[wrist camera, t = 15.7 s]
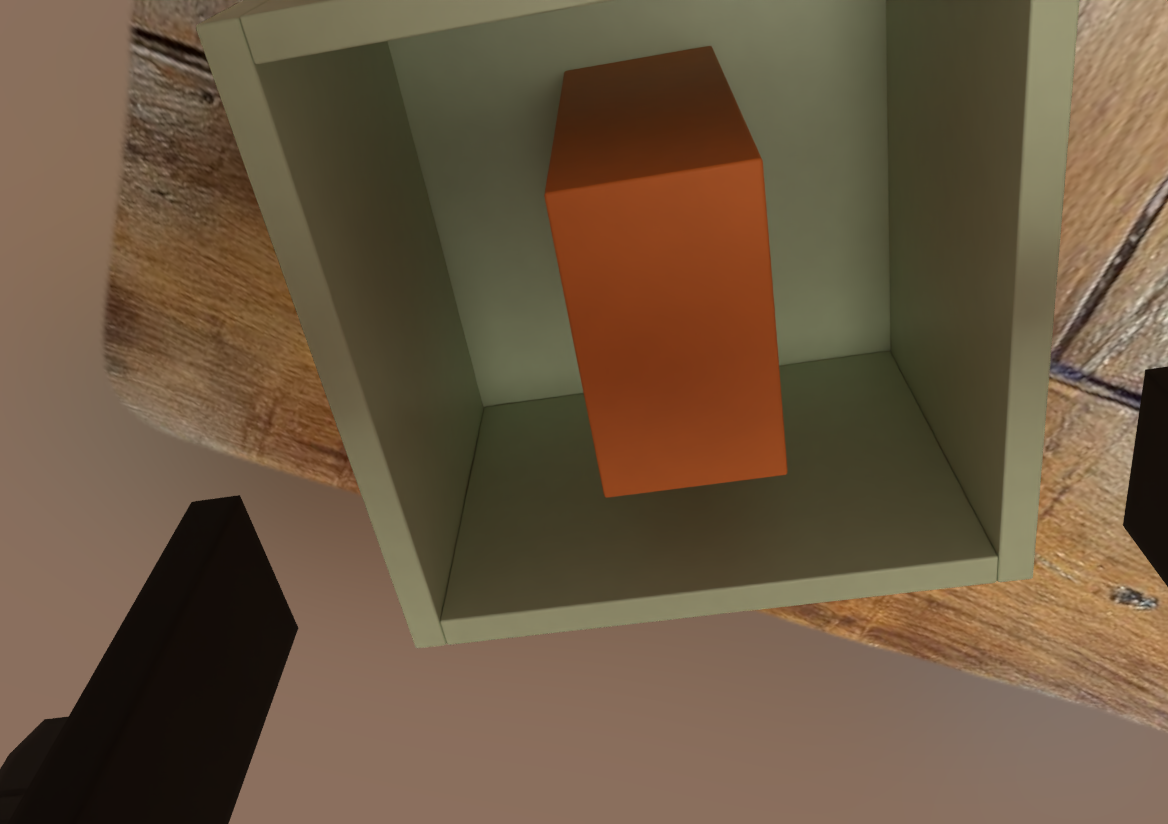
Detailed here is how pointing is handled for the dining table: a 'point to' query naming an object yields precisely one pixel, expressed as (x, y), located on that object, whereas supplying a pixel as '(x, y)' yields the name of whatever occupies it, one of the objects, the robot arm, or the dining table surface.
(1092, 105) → the dining table surface
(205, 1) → the dining table surface
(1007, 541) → the open square bin
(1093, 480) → the dining table surface
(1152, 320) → the dining table surface
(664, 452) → the orange rectangular prism
